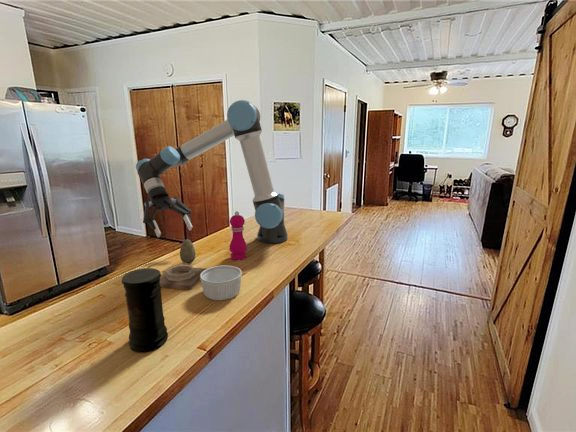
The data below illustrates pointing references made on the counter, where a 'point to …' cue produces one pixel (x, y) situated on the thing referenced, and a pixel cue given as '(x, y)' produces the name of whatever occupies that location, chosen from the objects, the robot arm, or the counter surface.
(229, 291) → the ramekin
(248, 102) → the robot arm
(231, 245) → the pepper mill
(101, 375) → the counter surface
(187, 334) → the counter surface
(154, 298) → the container
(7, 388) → the counter surface
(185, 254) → the decorative egg
